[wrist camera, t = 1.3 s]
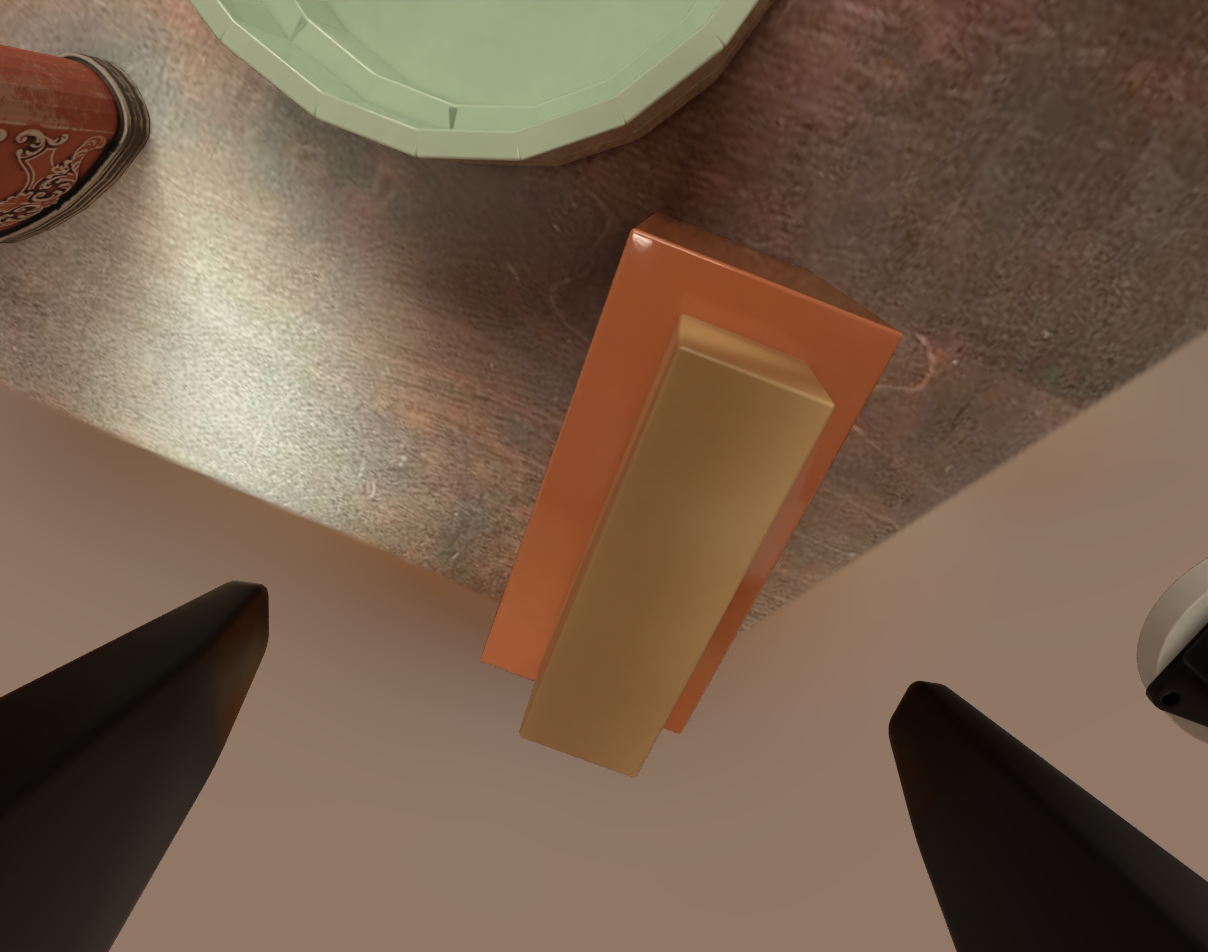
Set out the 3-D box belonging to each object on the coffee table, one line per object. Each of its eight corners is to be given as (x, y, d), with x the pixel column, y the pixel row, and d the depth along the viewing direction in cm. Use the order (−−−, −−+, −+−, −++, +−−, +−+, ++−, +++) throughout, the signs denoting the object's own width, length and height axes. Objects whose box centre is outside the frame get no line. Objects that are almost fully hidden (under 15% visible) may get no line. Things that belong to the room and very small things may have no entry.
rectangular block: (814, 272, 19) (905, 334, 11) (683, 545, 24) (680, 736, 15) (656, 210, 19) (631, 227, 11) (552, 496, 23) (478, 662, 15)
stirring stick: (808, 361, 12) (838, 405, 9) (644, 686, 15) (636, 780, 13) (680, 311, 11) (678, 343, 9) (544, 649, 15) (517, 737, 12)
